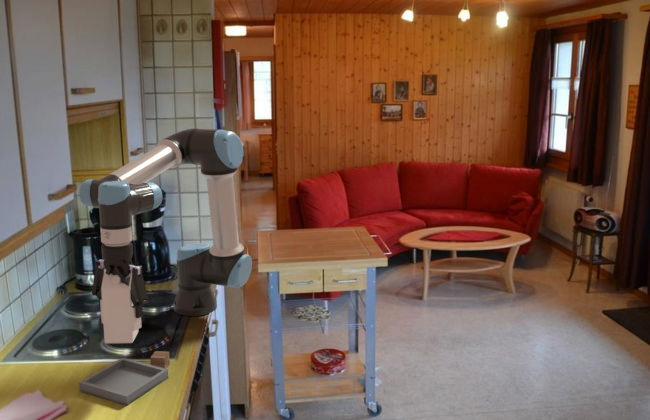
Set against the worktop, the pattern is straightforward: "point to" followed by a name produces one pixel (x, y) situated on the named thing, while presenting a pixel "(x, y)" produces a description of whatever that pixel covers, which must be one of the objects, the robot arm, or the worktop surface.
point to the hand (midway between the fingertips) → (121, 325)
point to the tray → (123, 381)
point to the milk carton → (117, 310)
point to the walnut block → (160, 359)
